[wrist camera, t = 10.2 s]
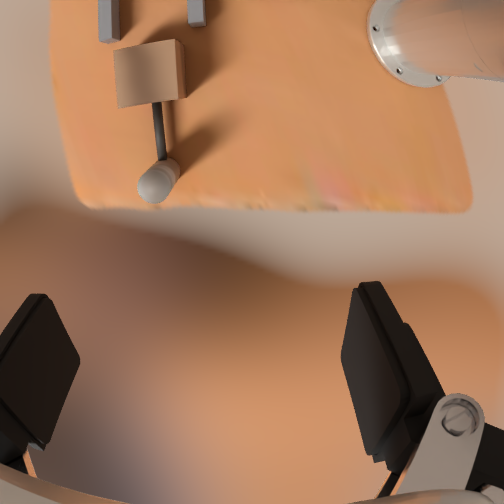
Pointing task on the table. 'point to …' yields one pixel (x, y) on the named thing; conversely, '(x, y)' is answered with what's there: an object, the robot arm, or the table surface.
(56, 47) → the table surface
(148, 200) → the tan block with knob
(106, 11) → the lane rack
